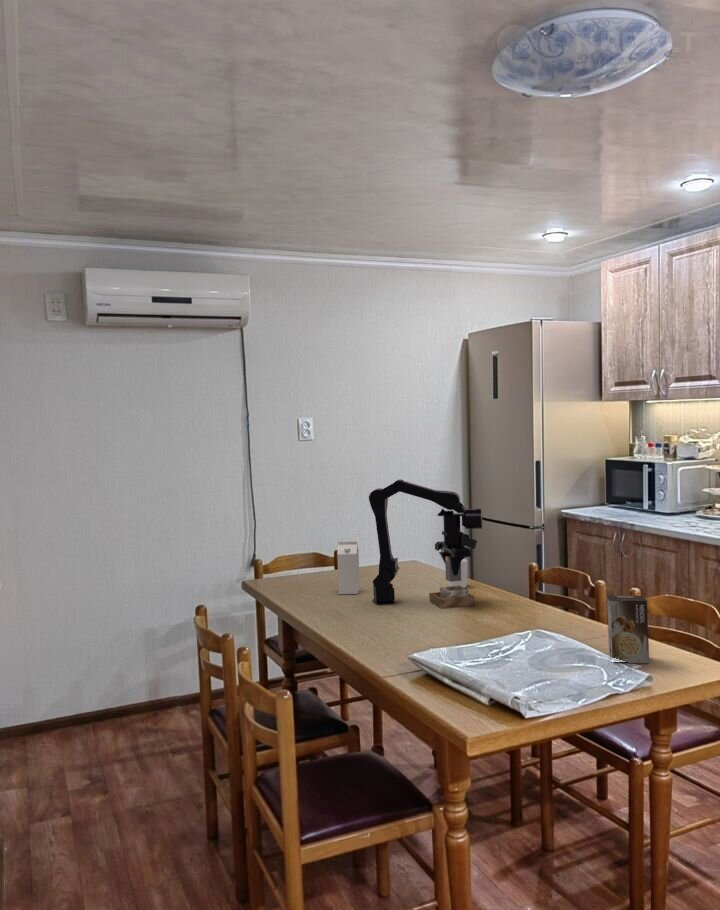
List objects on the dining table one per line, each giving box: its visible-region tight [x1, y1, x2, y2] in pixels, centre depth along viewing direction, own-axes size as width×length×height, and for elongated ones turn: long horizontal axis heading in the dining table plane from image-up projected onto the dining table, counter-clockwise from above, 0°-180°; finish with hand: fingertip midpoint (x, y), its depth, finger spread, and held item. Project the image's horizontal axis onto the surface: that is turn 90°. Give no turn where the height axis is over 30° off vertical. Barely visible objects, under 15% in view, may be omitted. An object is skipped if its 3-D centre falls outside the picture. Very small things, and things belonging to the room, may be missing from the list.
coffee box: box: [606, 594, 650, 664], centre depth 195 cm, size 9×6×16 cm
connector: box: [444, 556, 461, 582], centre depth 262 cm, size 4×4×8 cm
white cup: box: [447, 558, 468, 589], centre depth 287 cm, size 8×8×10 cm
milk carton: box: [337, 540, 361, 595], centre depth 284 cm, size 7×7×19 cm
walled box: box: [428, 585, 475, 609], centre depth 262 cm, size 12×11×5 cm
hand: (453, 574), depth 262 cm, fingers closed on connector, 4 cm apart
